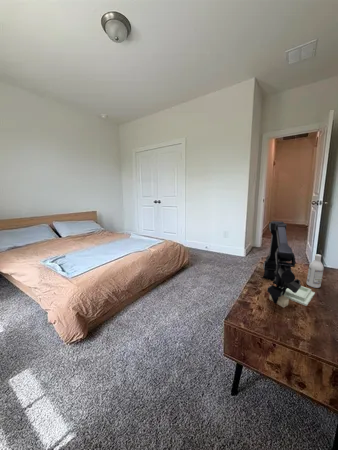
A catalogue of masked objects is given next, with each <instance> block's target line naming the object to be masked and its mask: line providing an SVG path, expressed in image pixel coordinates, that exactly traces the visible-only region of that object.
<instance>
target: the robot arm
mask: <svg viewBox="0 0 338 450" xmlns="http://www.w3.org/2000/svg"><path fill="white" fill-rule="evenodd" d="M287 226H288V225H287V223H285V222H284V221H280V220H279V221H277V220H272V221H270V222H269V223H268V229H269V231H270V234H271V237H270V238H271V239H270V245H269V246H270V247H269V253H268V255H267V256H266V257H265V260H264V261H263V263H262V268H263V270H264V271H263V276H262V278H264V279H266V280H269V281H272V282H273V284H272V285H270V286H268V287H267V290H266V292H267V293H268V294H269V296H270V295H271V297H272V299H273V301H272V302H273V304H274V305H275V304H276V305H278V304H277V301H278V298H279V297H281V296H282V295H283V296H284V294H285V291H286V289H287V288H288V289H290V290H291V291H292V292H294V293H296V292H297V291H298V290H299V289H300V287H301V286H302V284H301V280H300V279H298V278H296V275H295V274H294V272H293V270H292V268H295V267H296V264H297V263H296V256H295V253H294V252H293V249H292V247H291V246H290V245H289V243H288V237H287Z"/></svg>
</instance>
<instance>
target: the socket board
mask: <svg viewBox="0 0 338 450" xmlns="http://www.w3.org/2000/svg"><path fill="white" fill-rule="evenodd" d="M315 293H316V292H315V291H312V288H309V287H305V286H303V285H301V287H300V289H299V290H298V291H297V292H296V293H294V292H292V291H291V290H290V289H288V288H287V289H286V291H285V294H284V296H285V297H287V298H289V301H292V302H296V303H297V304H300V305H301V306H302V305H303V306H306V307H307V306H308V304H309V303H310V302H311V300H312V299H313V297H314V296H315Z"/></svg>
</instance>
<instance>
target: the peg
mask: <svg viewBox="0 0 338 450" xmlns="http://www.w3.org/2000/svg"><path fill="white" fill-rule="evenodd" d="M268 300H270V301H271V302H273V299H272V297H271V295H270V294H269V296H268ZM289 302H290V299H289V298H287V297H285V296H283V295H282V296H281V297H279V298H278V301H277V304H276V305H277V306H278V305H279V306H280V307H282V308H285V307H287V306H289Z"/></svg>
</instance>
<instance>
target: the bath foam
mask: <svg viewBox="0 0 338 450" xmlns="http://www.w3.org/2000/svg"><path fill="white" fill-rule="evenodd" d="M324 270H325V269H324V265H323V263H322V255H321V254H318V253H315V255H314V260H312V261H311V262H310V263H309V266H308V271H307V277H306V285H308V287H311V288H315V289H318V288H321V284H322V280H323V275H324Z"/></svg>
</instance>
